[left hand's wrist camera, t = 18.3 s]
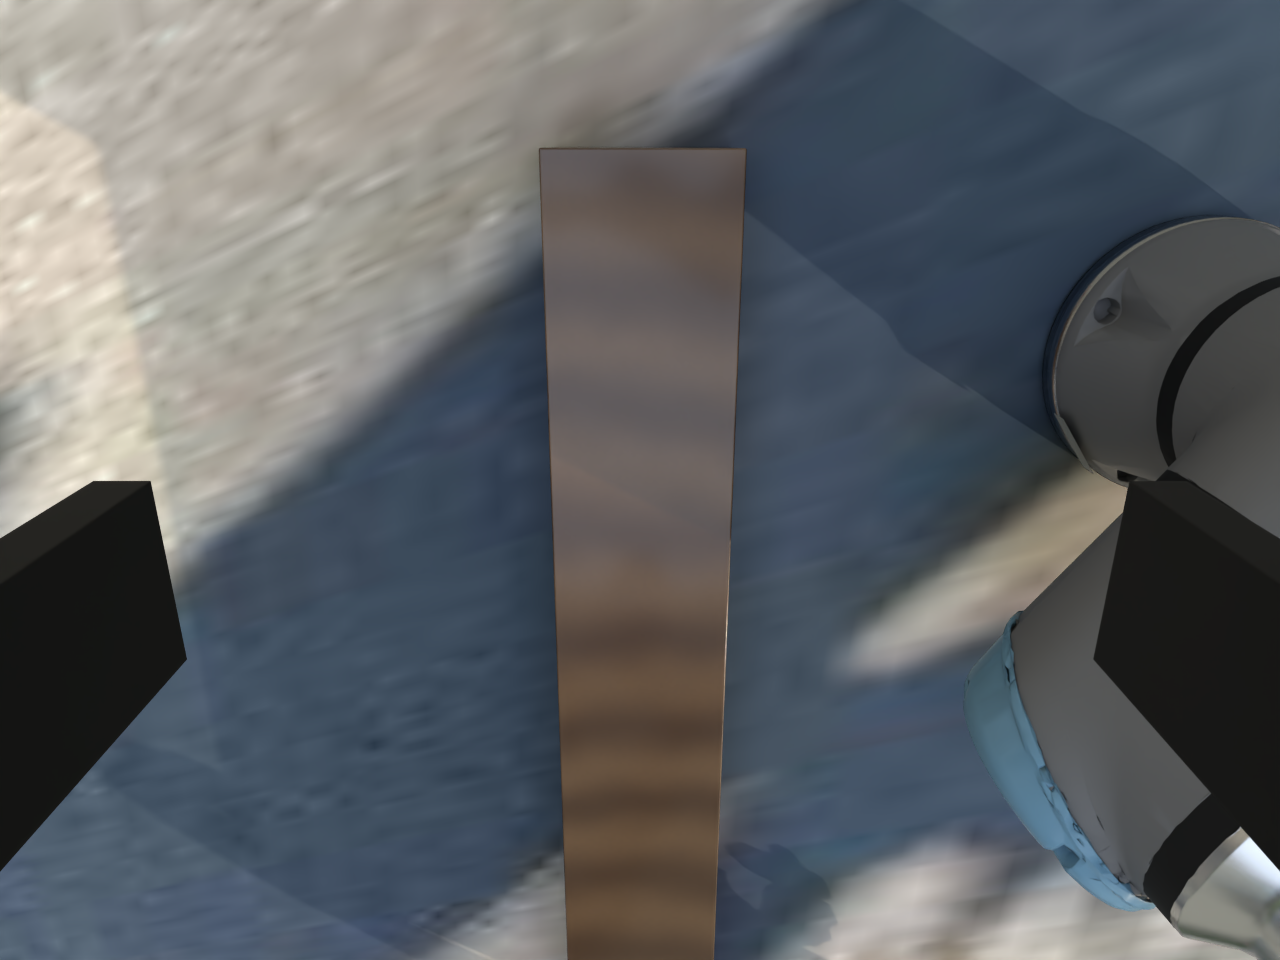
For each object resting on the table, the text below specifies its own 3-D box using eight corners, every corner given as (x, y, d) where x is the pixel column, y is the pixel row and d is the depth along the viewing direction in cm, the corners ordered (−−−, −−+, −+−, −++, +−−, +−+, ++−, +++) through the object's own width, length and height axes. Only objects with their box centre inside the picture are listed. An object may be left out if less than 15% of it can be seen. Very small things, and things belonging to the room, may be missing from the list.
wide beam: (553, 147, 47) (538, 148, 40) (730, 147, 47) (746, 148, 40) (579, 997, 68) (572, 1096, 61) (701, 997, 68) (708, 1096, 61)
